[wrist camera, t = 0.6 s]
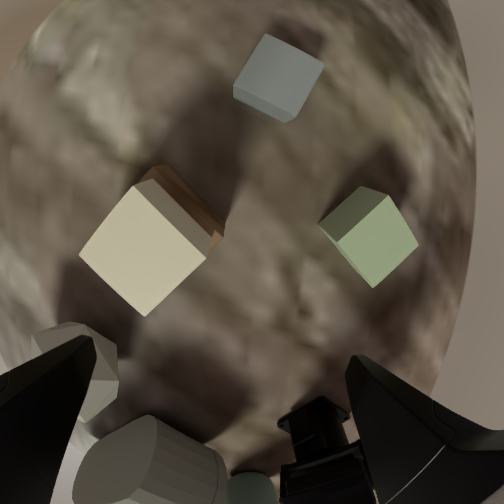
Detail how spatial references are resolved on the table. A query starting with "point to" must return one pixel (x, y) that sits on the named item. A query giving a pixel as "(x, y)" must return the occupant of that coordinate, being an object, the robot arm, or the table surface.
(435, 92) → the table surface
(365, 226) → the sage cube
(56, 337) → the die
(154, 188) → the tower top
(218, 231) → the tower base
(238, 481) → the cup
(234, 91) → the slate cube
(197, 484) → the alarm clock
